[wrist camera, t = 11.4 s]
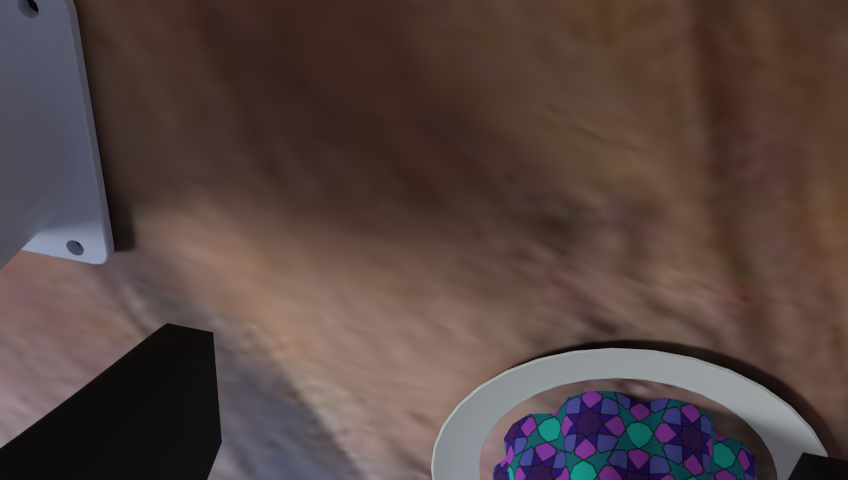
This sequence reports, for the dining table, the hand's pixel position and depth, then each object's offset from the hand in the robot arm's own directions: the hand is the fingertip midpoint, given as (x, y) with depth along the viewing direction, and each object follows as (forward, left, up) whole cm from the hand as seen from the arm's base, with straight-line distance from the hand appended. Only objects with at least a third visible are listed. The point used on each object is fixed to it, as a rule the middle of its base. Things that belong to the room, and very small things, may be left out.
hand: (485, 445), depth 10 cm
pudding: (+5, -12, -11) cm, 17 cm away
